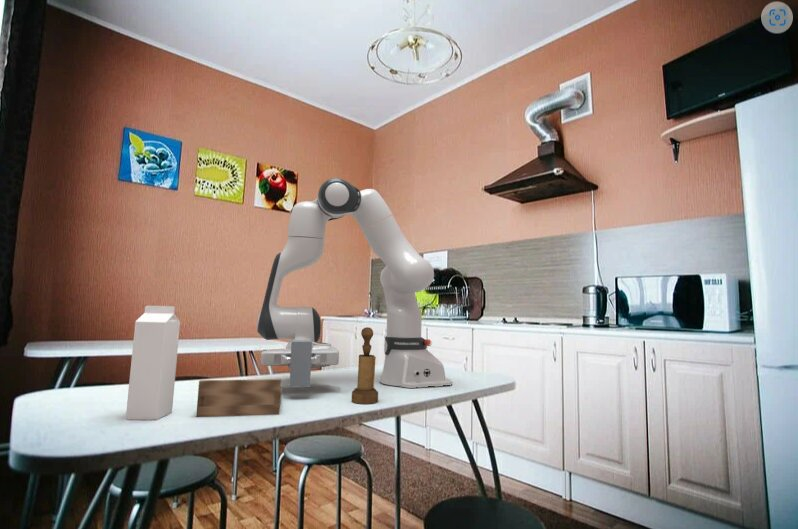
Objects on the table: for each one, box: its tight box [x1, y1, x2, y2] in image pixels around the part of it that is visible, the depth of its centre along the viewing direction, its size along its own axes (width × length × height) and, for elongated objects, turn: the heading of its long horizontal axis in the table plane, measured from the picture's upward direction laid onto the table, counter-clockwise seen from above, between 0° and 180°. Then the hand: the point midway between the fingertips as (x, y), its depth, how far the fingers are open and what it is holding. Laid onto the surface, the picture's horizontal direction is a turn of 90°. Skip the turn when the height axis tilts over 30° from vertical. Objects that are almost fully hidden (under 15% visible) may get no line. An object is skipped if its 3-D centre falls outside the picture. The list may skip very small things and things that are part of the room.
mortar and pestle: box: [351, 327, 379, 405], centre depth 101 cm, size 7×6×18 cm
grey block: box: [288, 339, 312, 388], centre depth 103 cm, size 5×5×11 cm
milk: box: [125, 305, 181, 421], centre depth 83 cm, size 6×6×22 cm
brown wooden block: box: [195, 378, 283, 418], centre depth 92 cm, size 16×16×7 cm
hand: (300, 361), depth 102 cm, fingers closed on grey block, 5 cm apart
